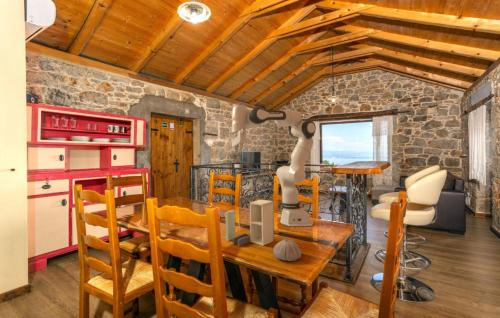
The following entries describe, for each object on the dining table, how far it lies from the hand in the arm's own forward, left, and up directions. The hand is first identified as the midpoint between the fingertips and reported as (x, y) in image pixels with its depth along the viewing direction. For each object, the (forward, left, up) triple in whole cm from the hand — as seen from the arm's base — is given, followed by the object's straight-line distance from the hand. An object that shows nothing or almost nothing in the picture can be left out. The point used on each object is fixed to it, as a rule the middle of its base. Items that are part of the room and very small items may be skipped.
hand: (238, 153), depth 153 cm
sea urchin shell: (-30, +30, -49) cm, 65 cm away
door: (+3, +11, -49) cm, 50 cm away
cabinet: (-11, +14, -49) cm, 52 cm away
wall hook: (+25, -32, -49) cm, 64 cm away
